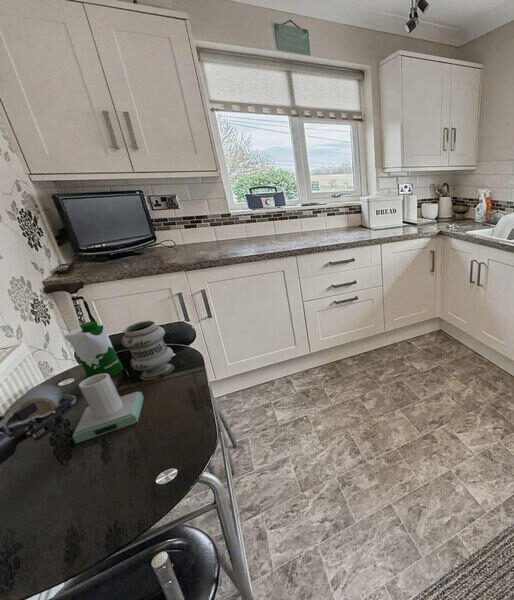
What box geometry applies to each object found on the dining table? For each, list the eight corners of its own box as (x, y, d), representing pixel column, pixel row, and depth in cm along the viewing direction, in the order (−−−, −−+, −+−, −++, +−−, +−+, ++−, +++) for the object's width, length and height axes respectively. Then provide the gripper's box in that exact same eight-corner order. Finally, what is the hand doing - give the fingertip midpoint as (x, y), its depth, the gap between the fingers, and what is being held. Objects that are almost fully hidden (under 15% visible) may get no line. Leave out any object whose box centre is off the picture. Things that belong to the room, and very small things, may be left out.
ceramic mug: (25, 425, 92) (12, 403, 89) (32, 411, 98) (20, 389, 95) (75, 409, 98) (64, 387, 95) (79, 396, 104) (69, 375, 101)
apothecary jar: (143, 386, 106) (122, 337, 100) (132, 375, 113) (111, 329, 107) (183, 368, 115) (166, 322, 108) (170, 359, 122) (154, 315, 115)
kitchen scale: (75, 444, 83) (70, 435, 82) (89, 415, 94) (85, 406, 93) (137, 423, 89) (133, 414, 88) (143, 397, 100) (140, 389, 99)
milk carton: (107, 382, 110) (82, 329, 103) (82, 383, 111) (55, 330, 104) (128, 367, 119) (106, 317, 111) (105, 368, 119) (82, 319, 112)
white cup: (91, 421, 87) (75, 390, 83) (97, 408, 92) (82, 378, 88) (120, 411, 90) (106, 381, 86) (124, 400, 95) (111, 370, 91)
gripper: (-5, 443, 60) (75, 389, 76) (-80, 449, 61) (14, 393, 76) (16, 473, 63) (88, 415, 78) (-57, 478, 63) (30, 419, 78)
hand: (52, 404), depth 77 cm, fingers open, 8 cm apart
